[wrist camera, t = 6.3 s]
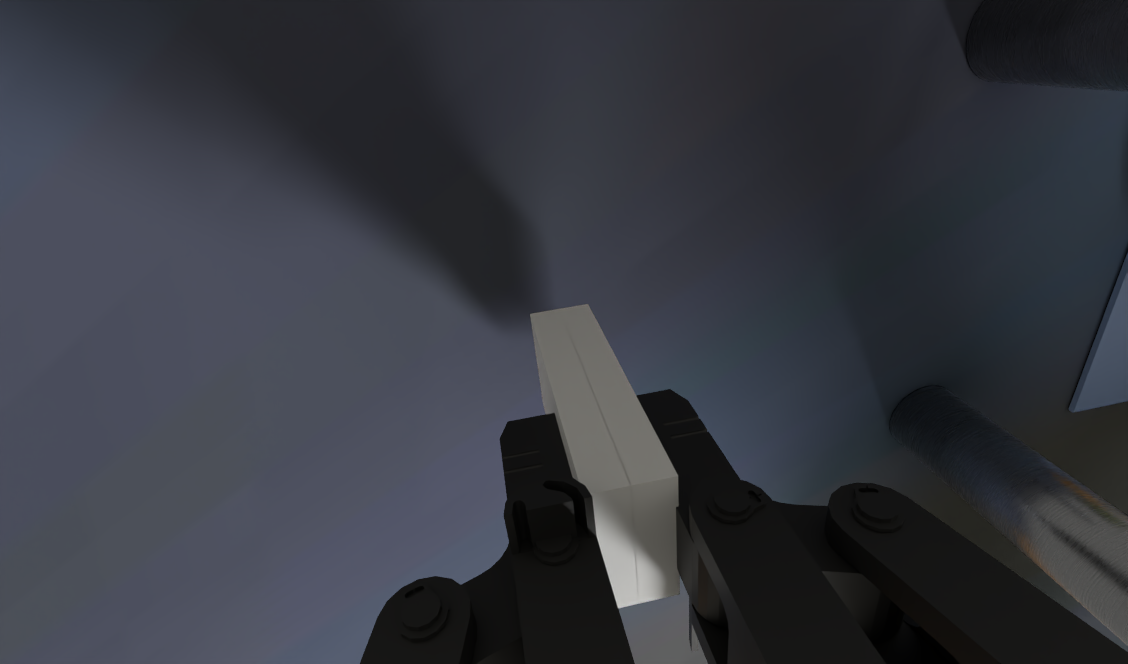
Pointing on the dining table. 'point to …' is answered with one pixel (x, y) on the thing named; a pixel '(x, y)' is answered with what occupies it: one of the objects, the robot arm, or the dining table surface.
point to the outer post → (1051, 43)
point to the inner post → (1023, 499)
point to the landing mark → (1107, 355)
